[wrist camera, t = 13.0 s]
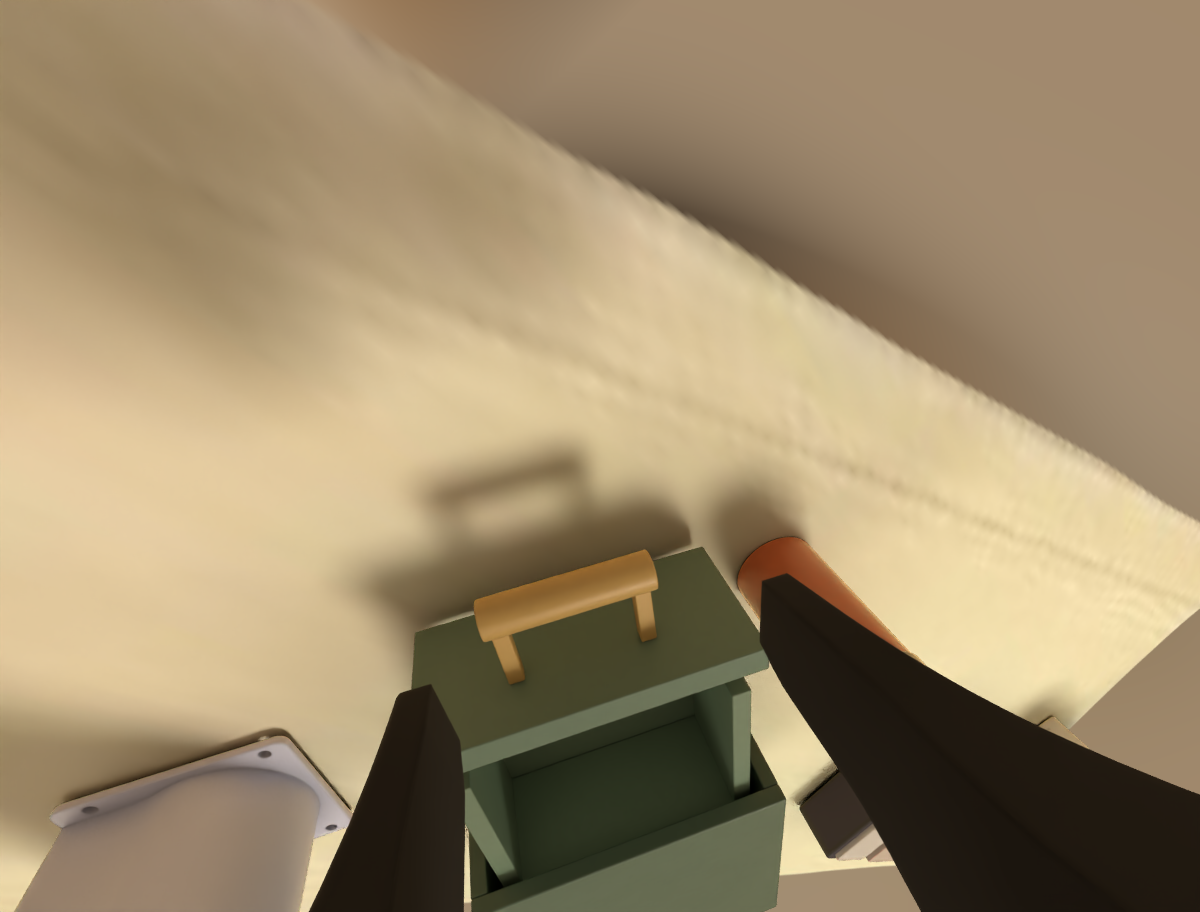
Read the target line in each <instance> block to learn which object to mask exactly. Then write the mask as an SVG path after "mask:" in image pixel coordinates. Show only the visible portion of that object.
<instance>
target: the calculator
mask: <svg viewBox="0 0 1200 912" xmlns="http://www.w3.org/2000/svg"><path fill="white" fill-rule="evenodd" d="M800 811H801V813H802V815H803V816H804V818H805V820H806V822H807V823H808V825H809V827H810V829H811V830H812V832H813V834H814V836H815V837H816V839H817V841H818V843H819V844H820V846H821V848H822V850H823V851H824V853H825V855H826V856H827V857H828V858H837V860H861V859H864V858H865V857H866V858H867V860H868V861H869V862H881V861H893V859H892V857H891V855H890V853H889V852H888V850H887V848H886V846H885V845H884V843H883V841H882V839H881V837H880V836H879V834H878V832H877V830H876V829H875V827H874V825H873V823H872V822H871V820H870V818H869V816H868V814H867V813H866V811H865V809H864V807H863V806H862V804H861V803H860V801H859V799H858V798H857V796H856V795H855V793H854V792H853V790H852V788H851V787H850V785H849V784H848V782H847V781H846V779H845V778H844V776H843V775H842V773H841V772H838V773H837V774H836V775H835V776H834V777H833V778H832V779H830V780H829V781H828V782H827V783H826V784H825V785H824V786H822V787H821V788H820V789H819V790H818V791H817V792H816V793H815V794H813V795H812V796H811V797H810V798H809V799H808V800H807V801H805V802H804V803H803V804H802V805H801V806H800Z"/></svg>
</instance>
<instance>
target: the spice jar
mask: <svg viewBox="0 0 1200 912" xmlns="http://www.w3.org/2000/svg"><path fill="white" fill-rule="evenodd" d="M785 573H788V574H789V575H791V576H792V577H794V578H795V579H797V580H798V581H800V582H801V583H802V584H804V585H805V586H807V587H808V588H809V589H811V590H812V591H814V592H815V593H816V594H818V595H819V596H821V597H822V598H824V599H825V600H826V601H828V602H829V603H831V604H832V605H833V606H835V607H836V608H838V609H839V610H841V611H842V612H844V613H845V614H846V615H848V616H849V617H851V618H852V619H854V620H855V621H857V622H858V623H860V624H861V625H863V626H864V627H866V628H867V629H869V630H870V631H872V632H873V633H875V634H876V635H878V636H879V637H881V638H882V639H884V640H885V641H887V642H889V643H890V644H892V645H893V646H895V647H896V648H898V649H899V650H901V651H903V652H904V653H906V654H907V655H909V656H911V657H912V658H914V659H916V660H917V661H919V662H921V663H922V664H924V662H923V661H922V660H921V659H920V658H919V657H918V656H917V655H915V654H913V653H910V651H909V650H908V649H907V648H906V647H905V646H904V645H903V644H902V643H901V642H900V641H899V640H898V639H897V638H896V637H895V636H894V634H893V633H892V632H891V631H890V630H889V629H888V628H887V627H886V626H885V625H884V624H883V623H882V622H881V621H880V620H879V619H878V618H877V616H876V615H875V614H874V613H873V612H872V611H871V610H870V609H869V608H868V607H867V606H866V605H865V604H864V603H863V602H862V601H861V599H860V598H859V597H858V596H857V595H856V594H855V593H854V592H853V591H852V590H851V589H850V588H849V587H848V586H847V585H846V584H845V583H844V581H843V580H842V579H841V578H840V577H839V576H838V575H837V574H836V573H835V572H834V571H833V570H832V569H831V568H830V567H829V566H828V564H827V563H826V562H825V561H824V560H823V559H822V558H821V557H820V556H819V555H818V554H817V553H816V552H815V551H814V550H813V549H812V548H811V546H810V545H809V544H808V543H807V542H805V541H804V540H802V539H800V538H796V537H783V538H778V539H775V540H772V541H770V542H768V543H766V544H764V545H762V546H761V547H759V548H758V549H756V550H755V551H754V552H753V553H752V554H751V555H750V556H749V557H748V558H747V559H746V561H745V562H744V564H743V565H742V567H741V569H740V571H739V574H738V581H737V583H738V588H739V591H740V593H741V594H742V595H743V597H744V598H745V600H746V601H747V603H748V604H749V606H750V607H751V609H752V610H753V612H754V613H755V615H756V616H757V617H758V619H759V620H760V615H761V586H762V581H763V580H766V579H769V578H772V577H776V576H779V575H782V574H785ZM924 665H925V664H924Z"/></svg>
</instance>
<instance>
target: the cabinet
mask: <svg viewBox="0 0 1200 912" xmlns="http://www.w3.org/2000/svg"><path fill="white" fill-rule="evenodd" d="M785 806H786V798H785V796H784V794H783V792H782V790H781V788H780V787H779V785H777V781H776V779H775V777H774V775H773V773H772V771H771V770H770V768H769V766H768V764H767V762H766V760H765V758H764V756H763V755H762V753H761V751H760V749H759V747H758V745H757V743H756V741H755V739H754V738H753V736H752V734H751V733H750V795H748V796H745V797H743V798H740V799H737V800H735V801H732V802H730V803H727V804H724V805H722V806H719V807H716V808H714V809H711V810H708V811H706V812H703V813H700V814H698V815H695V816H692V817H690V818H687V819H685V820H682V821H679V822H677V823H674V824H671V825H669V826H666V827H663V828H661V829H658V830H655V831H653V832H650V833H647V834H645V835H642V836H640V837H637V838H634V839H632V840H629V841H626V842H624V843H621V844H618V845H616V846H613V847H610V848H608V849H605V850H602V851H600V852H597V853H595V854H592V855H589V856H587V857H584V858H581V859H579V860H576V861H573V862H571V863H568V864H565V865H563V866H560V867H557V868H555V869H552V870H550V871H547V872H544V873H542V874H539V875H536V876H534V877H531V878H528V879H526V880H523V881H520V882H518V883H515V884H513V885H510V886H507V887H505V888H504V887H503V885H502V883H501V882H500V880H499V878H498V877H497V875H496V873H495V872H494V870H493V869H492V867H491V865H490V864H489V862H488V860H487V859H486V857H485V856H484V854H483V852H482V851H481V849H480V847H479V846H478V844H477V843H476V841H475V839H474V838H473V836H472V834H471V833H470V831H469V856H470V886H471V899H472V901H471V909H472V910H471V912H764V911H766V910H769V909H771V908H774V907H776V905H777V894H778V882H779V872H780V861H781V850H782V839H783V828H784V817H785Z"/></svg>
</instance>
